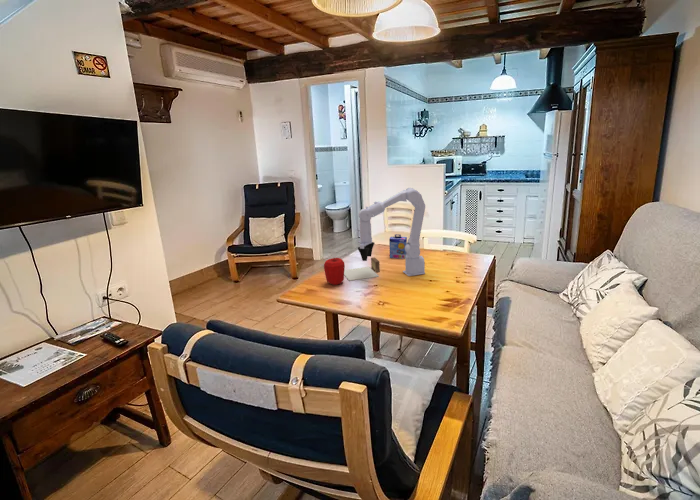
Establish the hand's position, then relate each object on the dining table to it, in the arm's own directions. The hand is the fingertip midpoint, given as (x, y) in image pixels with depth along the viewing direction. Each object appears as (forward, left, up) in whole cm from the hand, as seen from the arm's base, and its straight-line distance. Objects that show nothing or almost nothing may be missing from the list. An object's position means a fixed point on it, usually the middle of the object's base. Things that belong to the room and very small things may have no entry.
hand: (366, 258), depth 198 cm
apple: (+18, +3, -10) cm, 21 cm away
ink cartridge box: (-27, -24, -10) cm, 37 cm away
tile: (-7, -8, -10) cm, 14 cm away
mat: (+3, -5, -10) cm, 11 cm away
